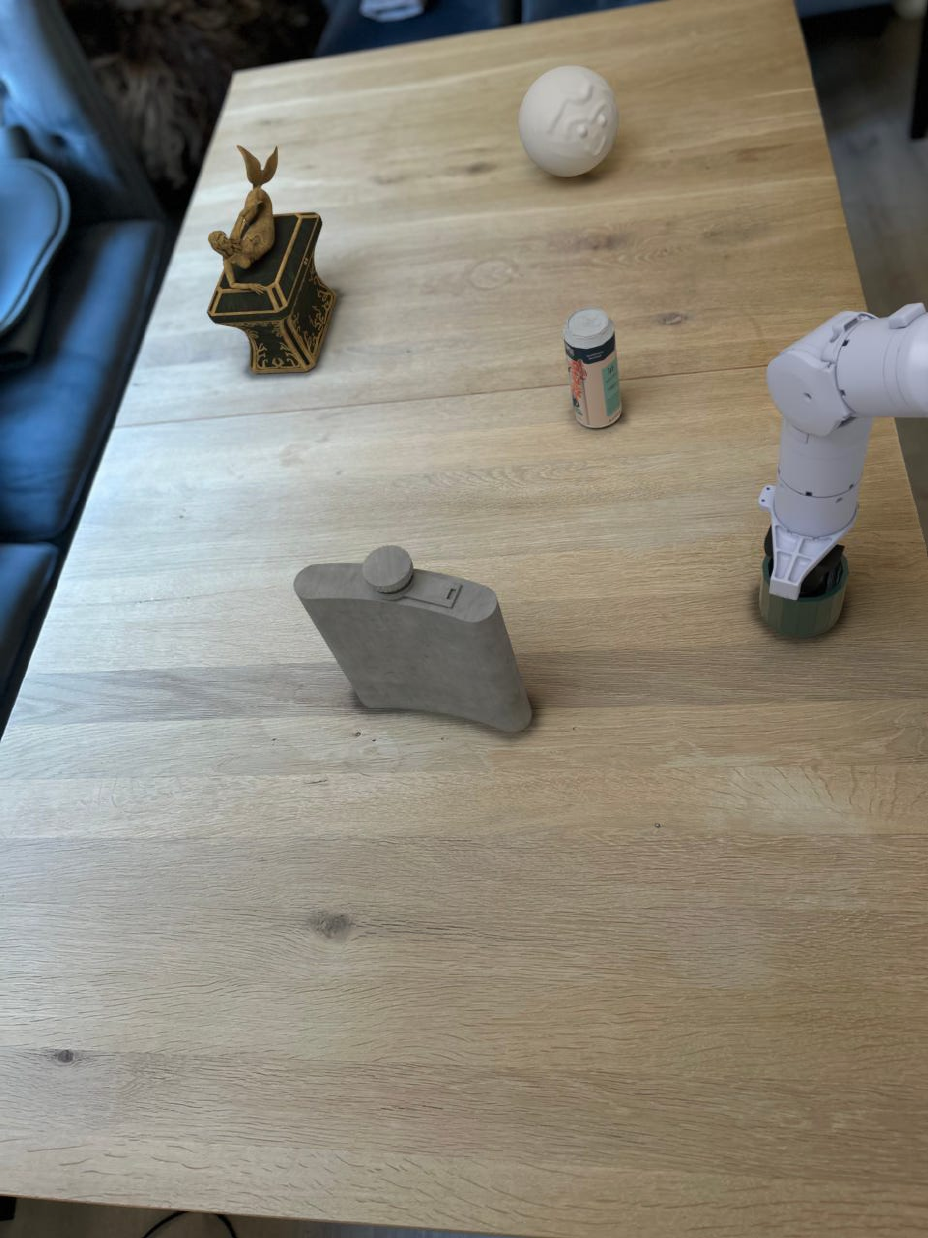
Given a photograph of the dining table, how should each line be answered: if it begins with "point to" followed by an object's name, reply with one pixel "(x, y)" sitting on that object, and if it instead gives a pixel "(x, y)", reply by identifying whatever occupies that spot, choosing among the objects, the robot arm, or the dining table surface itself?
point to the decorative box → (272, 280)
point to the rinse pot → (804, 603)
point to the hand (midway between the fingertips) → (803, 576)
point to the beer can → (593, 367)
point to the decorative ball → (568, 121)
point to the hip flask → (417, 638)
